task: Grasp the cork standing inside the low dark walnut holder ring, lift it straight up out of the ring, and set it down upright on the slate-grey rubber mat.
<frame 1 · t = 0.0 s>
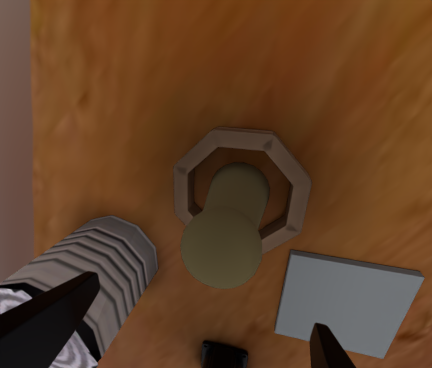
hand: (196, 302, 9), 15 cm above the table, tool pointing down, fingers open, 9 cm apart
slate mat: (337, 302, 25), on the table
cork: (239, 190, 23), resting in walnut holder
can: (120, 251, 30), on the table
walnut holder: (239, 191, 23), on the table
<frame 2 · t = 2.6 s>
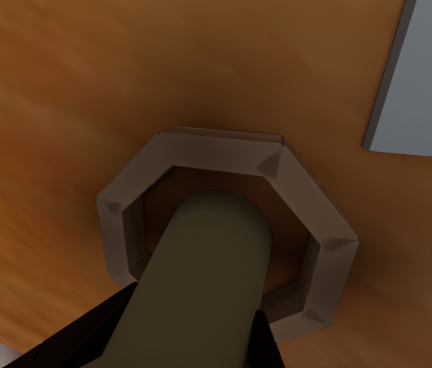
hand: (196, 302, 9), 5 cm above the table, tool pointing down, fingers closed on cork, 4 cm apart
cork: (220, 235, 13), resting in walnut holder, touching gripper
walnut holder: (219, 237, 13), on the table
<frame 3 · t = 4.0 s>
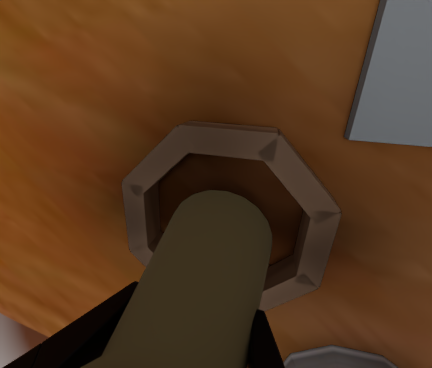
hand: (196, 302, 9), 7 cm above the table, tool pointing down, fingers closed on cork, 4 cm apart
cork: (220, 235, 13), point 2 cm above the table, touching gripper
walnut holder: (225, 217, 15), on the table
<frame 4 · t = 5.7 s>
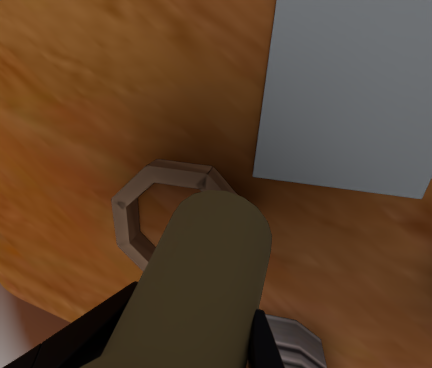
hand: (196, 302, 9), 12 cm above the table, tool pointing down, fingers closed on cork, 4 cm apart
slate mat: (352, 102, 15), on the table
cork: (219, 235, 13), point 7 cm above the table, touching gripper
can: (273, 347, 26), on the table
walnut holder: (183, 223, 22), on the table
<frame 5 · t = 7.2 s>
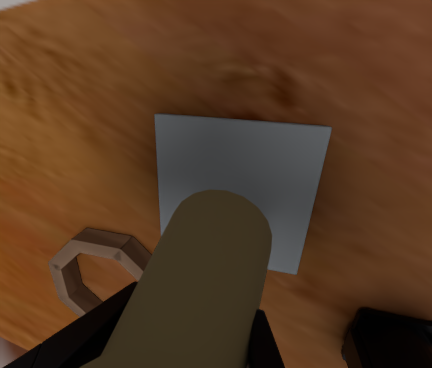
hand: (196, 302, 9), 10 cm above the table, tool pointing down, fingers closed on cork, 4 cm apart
slate mat: (232, 195, 18), on the table
cork: (219, 235, 13), point 5 cm above the table, touching gripper
walnut holder: (116, 279, 25), on the table
when the fingers open (6 cm above the table, at t = 8.7 s): cork drops 1 cm, resting on slate mat.
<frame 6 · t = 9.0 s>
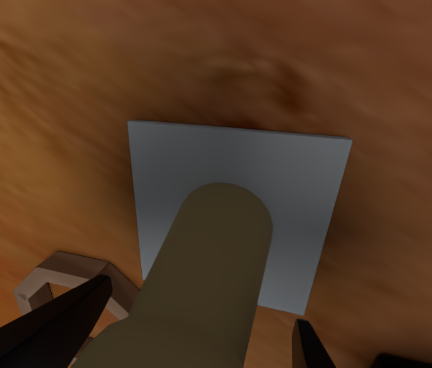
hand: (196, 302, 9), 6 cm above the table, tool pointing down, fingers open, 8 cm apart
slate mat: (225, 219, 15), on the table
cork: (224, 225, 14), point 1 cm above the table, touching slate mat
walnut holder: (94, 308, 22), on the table
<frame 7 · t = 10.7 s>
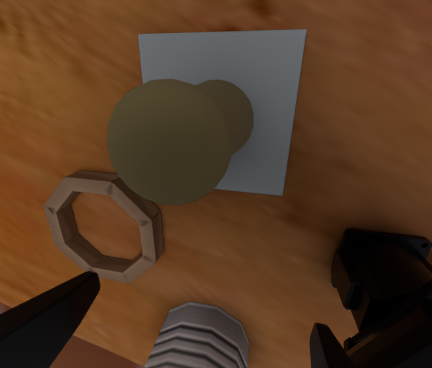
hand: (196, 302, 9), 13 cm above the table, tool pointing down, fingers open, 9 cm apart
slate mat: (217, 119, 19), on the table
cork: (216, 120, 18), point 1 cm above the table, touching slate mat
can: (205, 332, 30), on the table
walnut holder: (111, 224, 26), on the table
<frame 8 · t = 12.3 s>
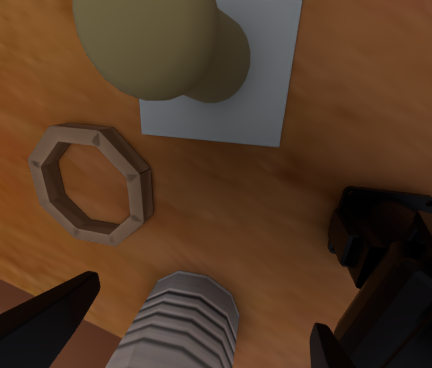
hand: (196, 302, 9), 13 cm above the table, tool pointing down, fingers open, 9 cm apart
slate mat: (211, 61, 18), on the table
cork: (210, 61, 17), point 1 cm above the table, touching slate mat
can: (195, 305, 28), on the table
walnut holder: (99, 183, 24), on the table
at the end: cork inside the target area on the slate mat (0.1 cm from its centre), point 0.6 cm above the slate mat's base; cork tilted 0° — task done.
